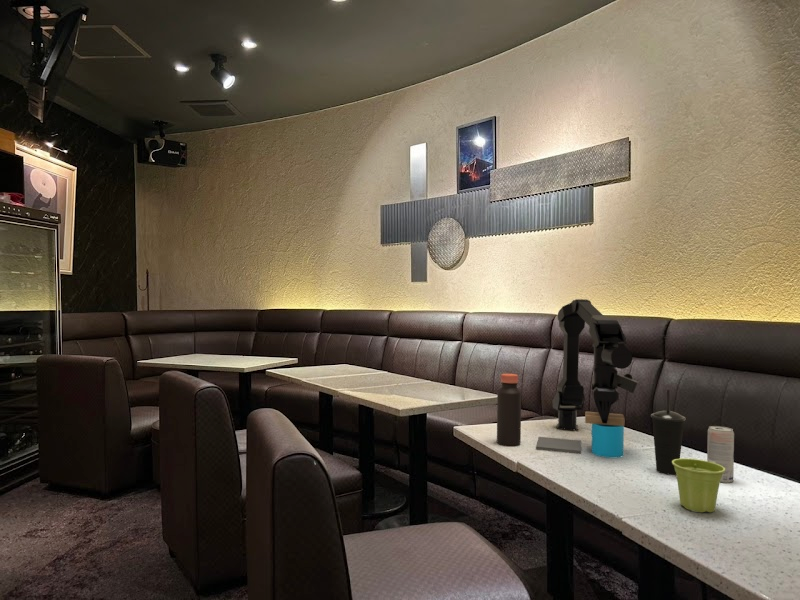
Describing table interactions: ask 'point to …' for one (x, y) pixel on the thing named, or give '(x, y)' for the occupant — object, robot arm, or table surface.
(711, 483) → the plant pot
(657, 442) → the drinking cup
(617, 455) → the blue cup
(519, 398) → the bottle
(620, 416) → the walnut lid
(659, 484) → the table surface
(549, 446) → the rubber mat
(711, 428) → the energy drink
